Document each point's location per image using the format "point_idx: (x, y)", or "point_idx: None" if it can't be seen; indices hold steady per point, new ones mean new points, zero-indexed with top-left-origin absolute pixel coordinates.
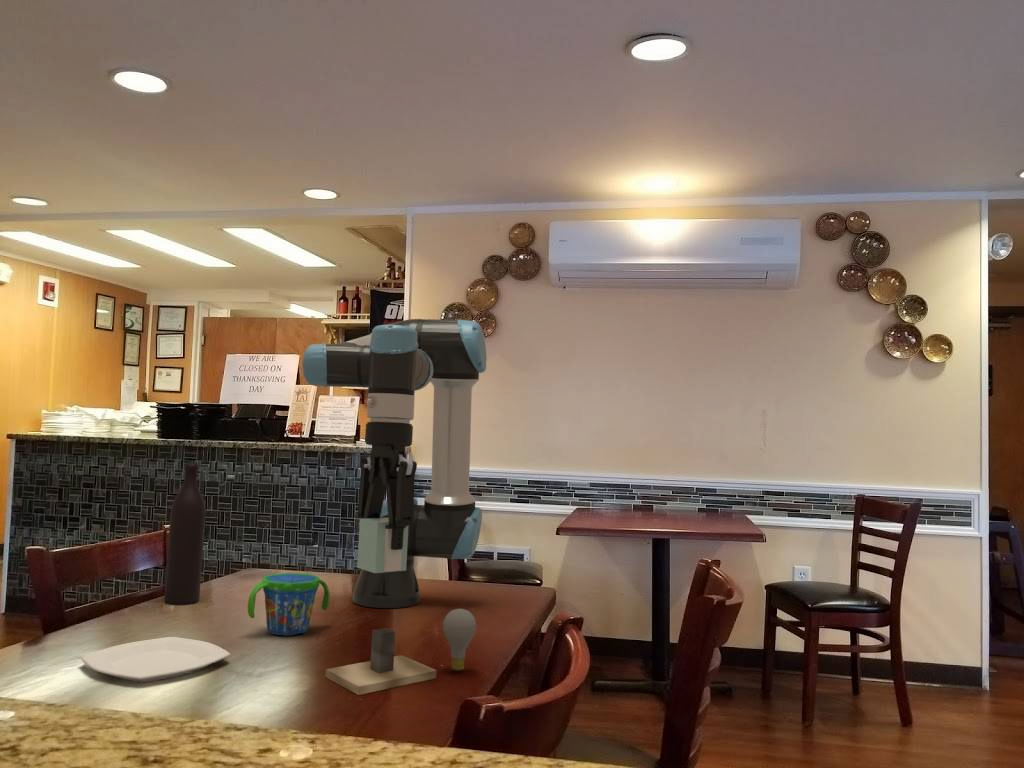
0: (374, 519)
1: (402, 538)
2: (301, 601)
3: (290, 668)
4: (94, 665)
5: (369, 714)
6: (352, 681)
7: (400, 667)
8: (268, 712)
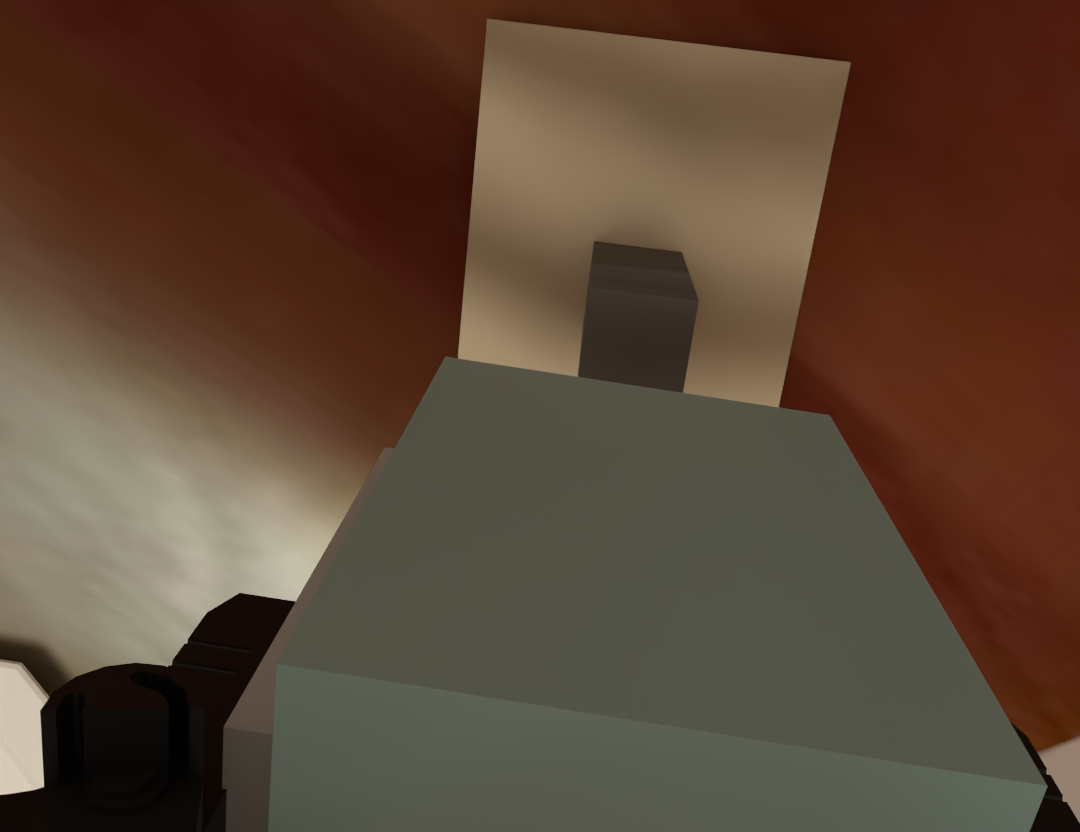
0: None
1: (1066, 822)
2: None
3: (245, 503)
4: None
5: (953, 602)
6: None
7: (667, 186)
8: None
